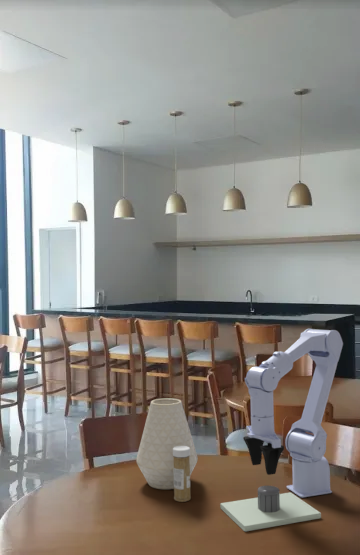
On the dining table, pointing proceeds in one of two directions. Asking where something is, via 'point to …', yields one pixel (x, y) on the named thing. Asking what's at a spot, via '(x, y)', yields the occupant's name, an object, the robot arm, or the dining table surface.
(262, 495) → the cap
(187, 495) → the sprinkles bottle
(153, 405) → the vase
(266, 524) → the post board
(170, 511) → the dining table surface
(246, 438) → the robot arm
